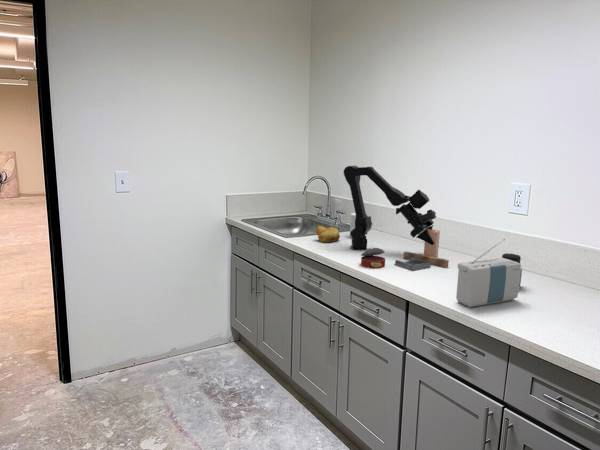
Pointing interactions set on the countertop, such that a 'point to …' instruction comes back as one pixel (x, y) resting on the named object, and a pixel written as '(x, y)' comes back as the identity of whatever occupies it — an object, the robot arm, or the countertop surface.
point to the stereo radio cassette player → (488, 281)
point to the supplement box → (352, 222)
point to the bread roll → (327, 234)
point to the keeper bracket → (413, 264)
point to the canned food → (372, 258)
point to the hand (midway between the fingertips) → (434, 243)
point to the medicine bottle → (514, 258)
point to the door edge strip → (427, 259)
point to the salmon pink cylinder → (433, 249)
